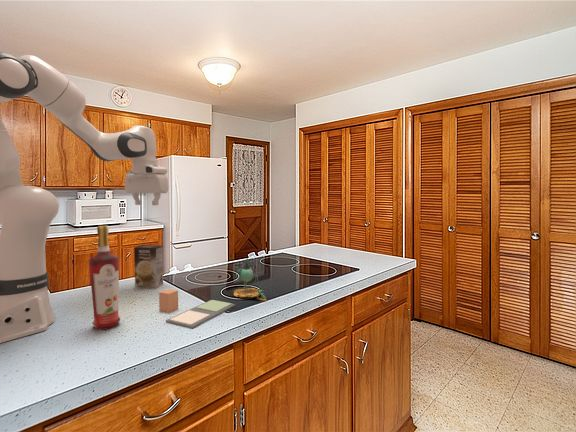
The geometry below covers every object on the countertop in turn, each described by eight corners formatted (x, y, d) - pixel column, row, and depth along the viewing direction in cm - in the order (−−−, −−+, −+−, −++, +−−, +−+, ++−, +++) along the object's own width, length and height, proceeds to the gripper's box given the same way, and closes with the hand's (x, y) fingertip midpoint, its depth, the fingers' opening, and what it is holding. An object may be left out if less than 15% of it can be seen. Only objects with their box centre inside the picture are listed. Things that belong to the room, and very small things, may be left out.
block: (168, 312, 102) (168, 293, 102) (159, 310, 104) (158, 292, 103) (178, 308, 106) (177, 290, 105) (169, 306, 107) (168, 288, 107)
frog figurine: (248, 306, 109) (244, 261, 109) (225, 297, 124) (223, 258, 124) (272, 300, 114) (269, 257, 114) (248, 292, 129) (246, 255, 129)
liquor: (117, 318, 97) (113, 224, 95) (124, 326, 92) (121, 226, 90) (89, 325, 92) (84, 226, 90) (94, 333, 87) (90, 228, 85)
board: (192, 328, 90) (192, 325, 90) (165, 322, 94) (165, 319, 94) (235, 306, 108) (235, 303, 108) (210, 301, 112) (210, 299, 112)
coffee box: (134, 288, 128) (132, 247, 127) (142, 283, 135) (141, 244, 133) (156, 288, 127) (155, 247, 126) (164, 284, 134) (163, 245, 132)
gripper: (119, 169, 129) (121, 205, 130) (157, 168, 120) (159, 206, 121) (133, 170, 134) (135, 204, 136) (170, 168, 126) (171, 205, 127)
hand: (146, 205), depth 128 cm, fingers open, 8 cm apart
